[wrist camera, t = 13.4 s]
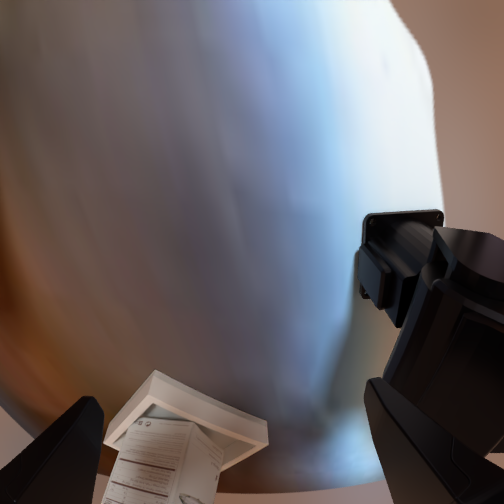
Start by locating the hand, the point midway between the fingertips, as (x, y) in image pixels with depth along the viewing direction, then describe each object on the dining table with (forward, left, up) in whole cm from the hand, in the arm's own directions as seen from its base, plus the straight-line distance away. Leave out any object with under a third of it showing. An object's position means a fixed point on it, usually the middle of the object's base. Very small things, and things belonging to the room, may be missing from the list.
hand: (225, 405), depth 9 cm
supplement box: (+8, +19, -11) cm, 23 cm away
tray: (+8, +20, -13) cm, 25 cm away
